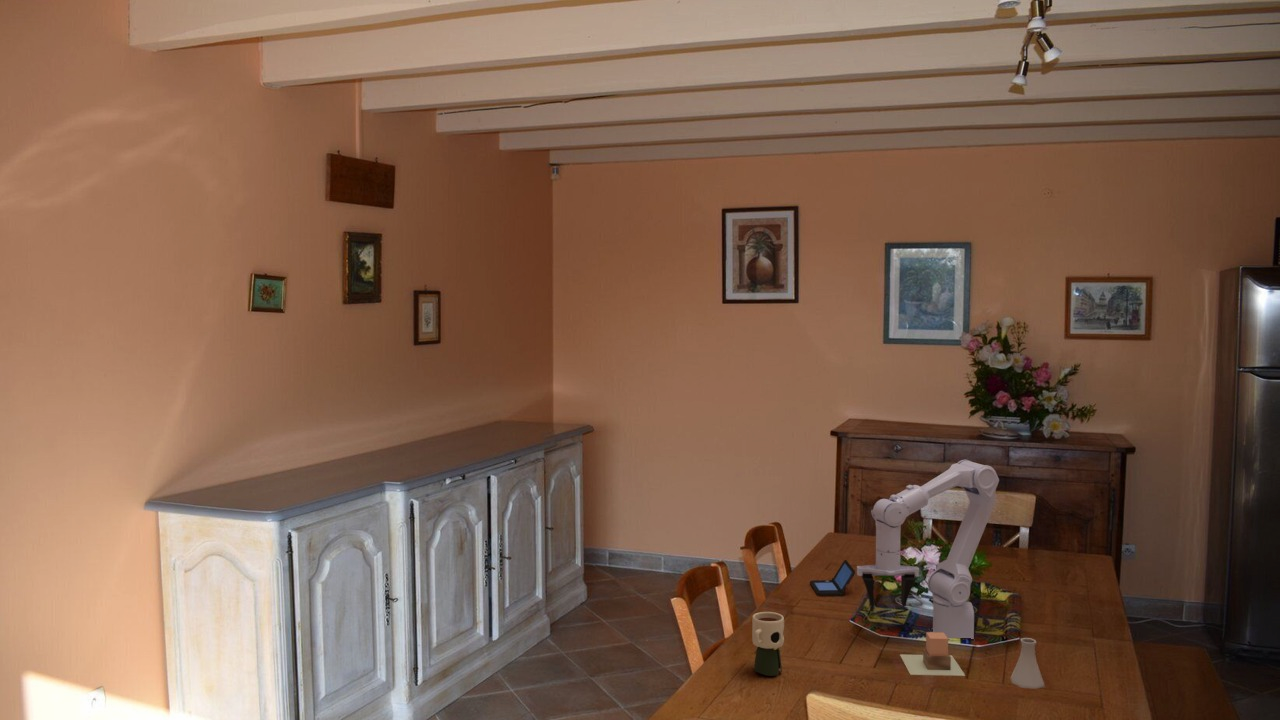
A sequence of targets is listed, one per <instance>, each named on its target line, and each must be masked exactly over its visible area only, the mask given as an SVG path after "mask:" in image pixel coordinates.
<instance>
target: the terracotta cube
mask: <svg viewBox="0 0 1280 720" xmlns="http://www.w3.org/2000/svg"><path fill="white" fill-rule="evenodd" d="M925 649H926V650H927V652H928V654H929V655H930V656H948V654H949V640H948V638H947V636H946V635H945V633H936V632H929V631H926V632H925Z"/></svg>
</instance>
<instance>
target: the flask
mask: <svg viewBox="0 0 1280 720" xmlns="http://www.w3.org/2000/svg"><path fill="white" fill-rule="evenodd" d="M1019 641H1020V643H1021V649H1020V654H1019V657H1018V659H1017V661H1016V662H1017V663H1016V664H1015V667H1014V669H1013V672H1012V674H1011V676H1010V681H1011V684H1013V685H1015V686H1017V687H1019V688H1021V689H1023V688H1024V689H1033V690H1037V689H1041V688H1043V689H1046V686H1045V685H1046V684H1045V682H1044V679H1043V677H1042V674H1041V671H1040V667H1039V665H1038V662H1037V656H1036V650H1035V649H1036V645H1037V640H1036V639H1034V638H1031V637H1022V638H1020V639H1019Z"/></svg>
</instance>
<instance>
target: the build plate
mask: <svg viewBox="0 0 1280 720" xmlns="http://www.w3.org/2000/svg"><path fill="white" fill-rule="evenodd" d="M949 655H950V654H949ZM899 656H900V658H901V659H902V662H903V663H904V665H905V667H906V669H907V671H908V673H909V674H910V676H913V675H914V676H956V677H957V676H959V677H961V676H962V677H965V676H966V675H965V672H964V671H963V670H962V668H961V667H960V665H959V663H958V662H957V660H955V658H954V656H953V655H950V657H951V670H928V669H927V667H926V665H925V664H924V662H923V654H899Z"/></svg>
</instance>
